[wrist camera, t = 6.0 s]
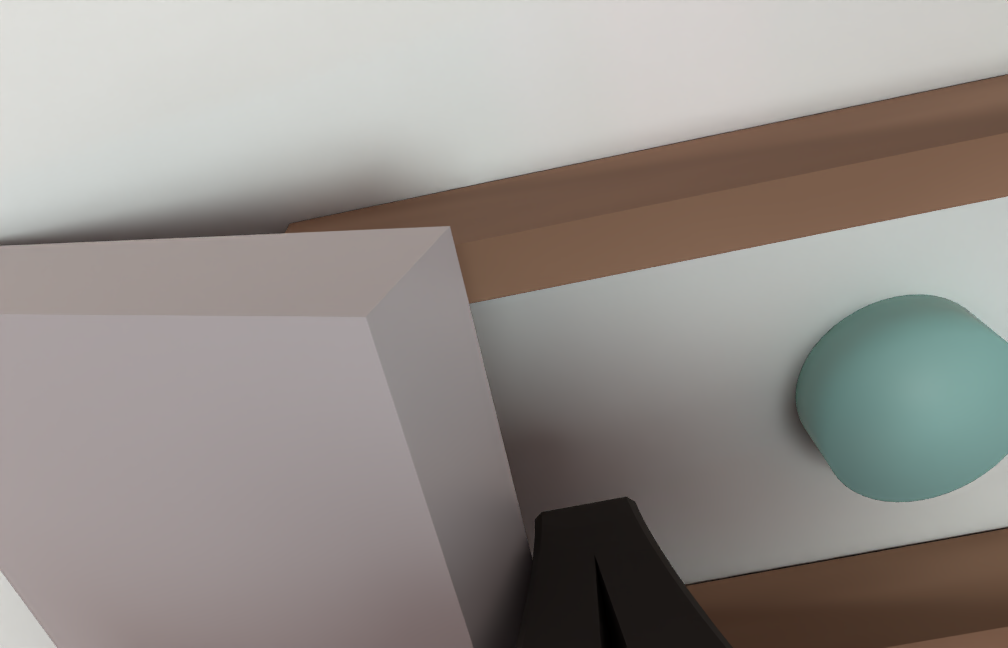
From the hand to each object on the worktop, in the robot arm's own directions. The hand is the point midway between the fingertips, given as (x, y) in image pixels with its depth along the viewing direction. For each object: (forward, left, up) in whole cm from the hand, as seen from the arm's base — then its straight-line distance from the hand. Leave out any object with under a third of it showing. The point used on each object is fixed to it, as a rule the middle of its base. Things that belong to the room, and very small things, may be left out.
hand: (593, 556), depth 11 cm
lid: (0, +4, -1) cm, 5 cm away
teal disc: (0, -6, -3) cm, 6 cm away
